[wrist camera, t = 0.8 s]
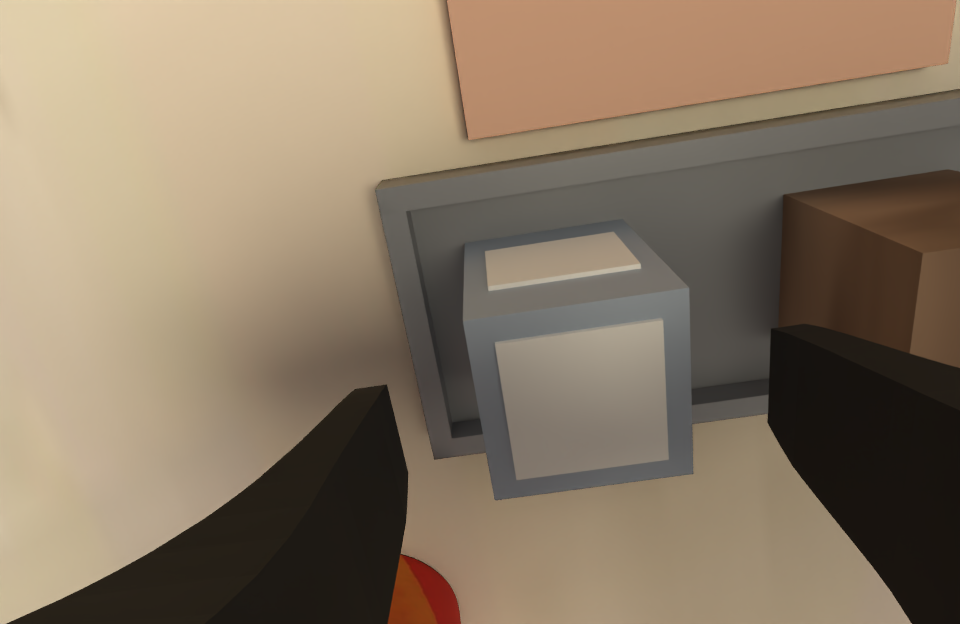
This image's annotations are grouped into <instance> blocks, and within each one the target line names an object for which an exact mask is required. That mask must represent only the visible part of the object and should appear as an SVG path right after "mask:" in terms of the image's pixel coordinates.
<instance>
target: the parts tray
mask: <svg viewBox="0 0 960 624" xmlns="http://www.w3.org/2000/svg"><path fill="white" fill-rule="evenodd" d="M946 169H950V170H954V171H959V172H960V89H958V90H951V91H945V92H939V93H932V94H926V95H920V96H913V97H907V98H901V99H894V100H888V101H882V102H875V103H869V104H863V105H857V106H850V107H844V108H838V109H831V110H825V111H819V112H812V113H806V114H800V115H793V116H787V117H781V118H774V119H768V120H762V121H755V122H749V123H743V124H736V125H730V126H724V127H717V128H711V129H705V130H698V131H692V132H686V133H679V134H673V135H667V136H660V137H654V138H648V139H641V140H635V141H629V142H622V143H616V144H610V145H603V146H597V147H591V148H584V149H578V150H572V151H565V152H559V153H553V154H546V155H540V156H534V157H528V158H521V159H515V160H509V161H502V162H496V163H490V164H483V165H477V166H471V167H464V168H458V169H452V170H445V171H439V172H433V173H426V174H420V175H414V176H407V177H401V178H395V179H388V180H382V181H381V183H380V184H379V185H378V187H377V188H376V189H375V192H376V196H377V201H378V205H379V210H380V215H381V219H382V224H383V228H384V233H385V237H386V242H387V246H388V251H389V256H390V260H391V265H392V269H393V274H394V278H395V283H396V288H397V292H398V297H399V301H400V306H401V310H402V315H403V319H404V324H405V329H406V333H407V338H408V342H409V347H410V351H411V356H412V361H413V365H414V370H415V374H416V379H417V383H418V388H419V393H420V397H421V402H422V406H423V411H424V415H425V420H426V424H427V429H428V434H429V438H430V443H431V447H432V452H433V456H434V460H435V459H442V458H449V457H457V456H464V455H471V454H478V453H486V448H485V443H484V437H483V432H482V426H481V420H480V415H479V409H478V404H477V398H476V392H475V387H474V381H473V376H472V370H471V364H470V359H469V353H468V348H467V342H466V336H465V331H464V325H463V291H464V252H465V243H468V242H475V241H481V240H488V239H494V238H501V237H507V236H514V235H521V234H527V233H534V232H540V231H547V230H553V229H560V228H566V227H573V226H579V225H586V224H593V223H599V222H606V221H612V220H619V219H623V220H624V221H625V222H626V223H627V224H628V225H629V226H630V227H631V228H632V229H633V230H634V231H635V233H636V234H637V235H638V236H639V237H640V238H641V239H642V240H643V241H644V242H645V243H646V244H647V245H648V246H649V247H650V248H651V249H652V250H653V251H654V252H655V253H656V254H657V255H658V256H659V257H660V258H661V259H662V260H663V261H664V262H665V263H666V264H667V265H668V266H669V267H670V269H671V270H672V271H673V272H674V273H675V274H676V275H677V276H678V277H679V278H680V279H681V280H682V281H683V282H684V283H685V284H686V285H687V286H688V287H689V303H690V349H691V395H692V424H697V423H704V422H711V421H718V420H726V419H733V418H740V417H748V416H755V415H762V414H768V397H769V368H770V338H771V328H778V322H779V297H780V271H781V246H782V220H783V195H784V194H789V193H796V192H802V191H809V190H815V189H822V188H828V187H835V186H841V185H848V184H855V183H861V182H868V181H874V180H881V179H887V178H894V177H900V176H907V175H914V174H920V173H927V172H933V171H940V170H946Z"/></svg>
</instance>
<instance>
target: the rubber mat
mask: <svg viewBox="0 0 960 624" xmlns="http://www.w3.org/2000/svg"><path fill="white" fill-rule="evenodd" d="M447 4H448V11H449V17H450V24H451V30H452V37H453V43H454V49H455V56H456V62H457V69H458V75H459V82H460V88H461V95H462V101H463V107H464V114H465V120H466V127H467V133H468V140H473V139H479V138H485V137H492V136H498V135H504V134H510V133H517V132H523V131H529V130H535V129H542V128H548V127H554V126H560V125H567V124H573V123H579V122H585V121H592V120H598V119H604V118H610V117H617V116H623V115H629V114H635V113H642V112H648V111H654V110H660V109H667V108H673V107H679V106H685V105H692V104H698V103H704V102H710V101H717V100H723V99H729V98H735V97H742V96H748V95H754V94H760V93H767V92H773V91H779V90H785V89H792V88H798V87H804V86H811V85H817V84H823V83H829V82H836V81H842V80H848V79H854V78H861V77H867V76H873V75H879V74H886V73H892V72H898V71H904V70H911V69H917V68H923V67H929V66H936V65H942V64H948V59H949V52H950V44H951V37H952V29H953V22H954V14H955V7H956V0H447Z"/></svg>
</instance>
